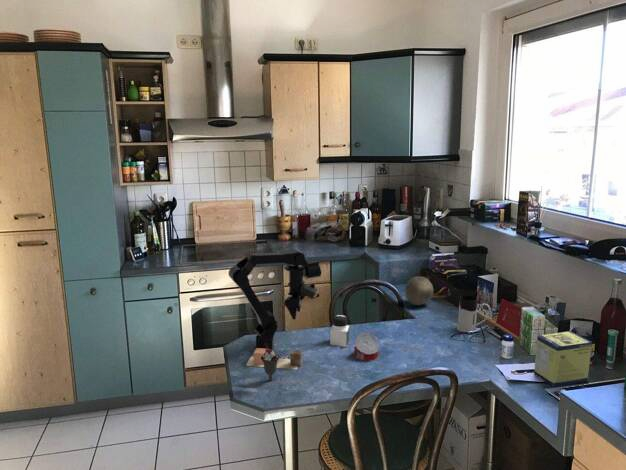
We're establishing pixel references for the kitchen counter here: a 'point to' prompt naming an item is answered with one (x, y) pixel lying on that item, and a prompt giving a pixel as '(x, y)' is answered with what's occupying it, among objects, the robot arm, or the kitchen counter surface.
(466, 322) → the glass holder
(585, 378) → the protein box
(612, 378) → the kitchen counter surface
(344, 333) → the medicine bottle
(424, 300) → the cantaloupe
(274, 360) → the sundae
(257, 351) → the block
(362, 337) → the canned food
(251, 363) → the strip
